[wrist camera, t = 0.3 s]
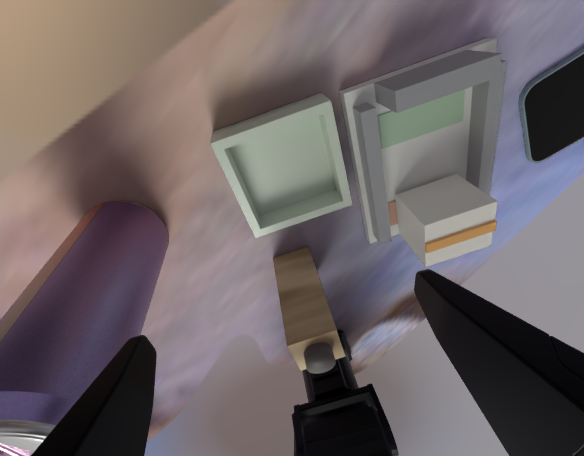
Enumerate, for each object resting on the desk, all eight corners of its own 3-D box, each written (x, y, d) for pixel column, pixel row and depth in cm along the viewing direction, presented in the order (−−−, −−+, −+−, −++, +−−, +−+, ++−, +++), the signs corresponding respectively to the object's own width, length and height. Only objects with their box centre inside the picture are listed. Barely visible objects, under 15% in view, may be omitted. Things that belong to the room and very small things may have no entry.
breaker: (454, 214, 25) (492, 247, 21) (398, 233, 25) (427, 268, 22) (456, 173, 23) (499, 202, 19) (395, 194, 23) (426, 227, 19)
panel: (471, 201, 26) (504, 226, 23) (366, 237, 27) (384, 266, 24) (485, 38, 19) (538, 40, 16) (339, 91, 19) (360, 104, 16)
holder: (342, 189, 24) (352, 204, 21) (253, 220, 24) (255, 238, 22) (320, 92, 19) (331, 100, 17) (212, 131, 19) (210, 143, 17)
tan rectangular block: (317, 271, 28) (350, 369, 20) (284, 282, 28) (303, 384, 20) (308, 245, 26) (340, 343, 18) (272, 257, 26) (289, 360, 18)
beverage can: (149, 187, 21) (29, 411, 9) (182, 250, 24) (129, 472, 12) (67, 207, 21) (-173, 462, 9) (112, 266, 24) (-13, 509, 12)
